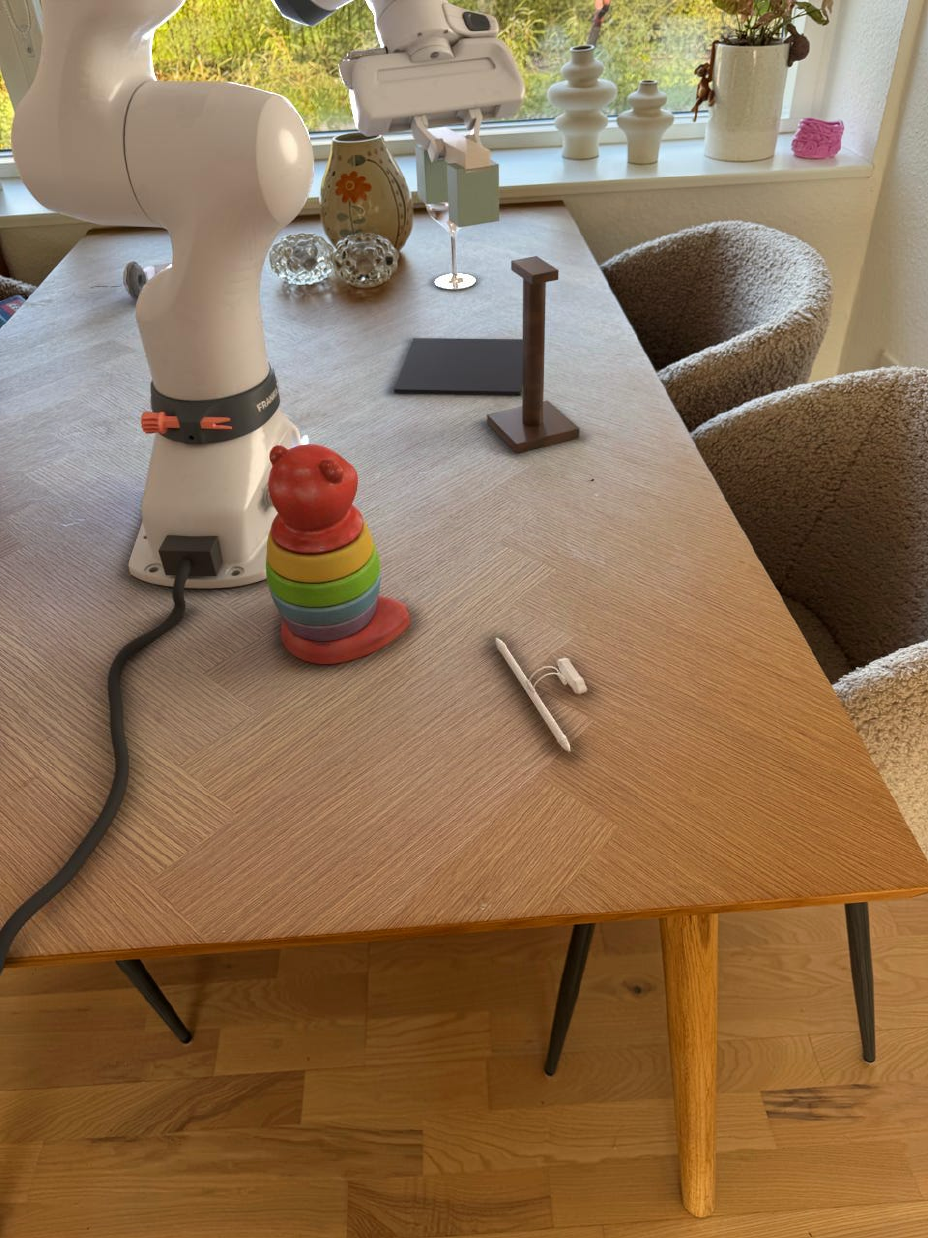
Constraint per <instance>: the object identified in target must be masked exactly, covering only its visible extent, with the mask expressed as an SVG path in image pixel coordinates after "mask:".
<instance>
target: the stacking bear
mask: <svg viewBox="0 0 928 1238" xmlns="http://www.w3.org/2000/svg"><path fill="white" fill-rule="evenodd" d="M269 458H270V462H271V463H272V468H271V470H270V474H269V479H268V490H269V495H270V498H271V501H272V503H273V505H274V507H275V509H276V511H277V512H278V514H277V515H276V517H275V518H274V520H273V522H272V525H271V530H270V532H269V535H268V541H267V557H266V577H267V578H266V582H267V586H268V591H269V593H270V597H271V599H272V601H273V604H274V605H275V607H276V609H277V612H278V614H279V615H280V616H279V617H281V619H282V621H281V629H280V630H281V631H280V634H281V640H282V643H283V645H284V647H285V649H287V651H288V652H289V653H290V654H291V655H293V656H294V657H296V658H298V659H300V660H301V661H305V662H308V663H312V664H319V665H334V664H340V663H345V662H349V661H353V660H357V659H359V658H361V657H365V656H367V655H369V654H372V653H374V652H376V651H378V650H380V649H382V648H384V647H385V646H387V645H389V644H390V643H392V642H393V641H394V640H396V639H397V638H398V637H399V636H400V635H401V634H402V633H404V631H406V630H407V628H408V627H409V625H410V624H411V617H410V612H409V609H408V606H407V605H406V604H405V603H404V602H401V601H399V600H397V599H396V598H393V597H388V596H382V595H379V593H380V591H381V590H380V589H381V578H382V577H381V574H382V572H381V571H382V570H381V562H380V556H379V552H378V549H377V547H376V544H375V542H374V539H373V536H372V533H371V531H370V529H369V527H368V523H367V522H366V520H365V519H364V516H363V514H362V513H361V511H360V510H359V509H358V508H357V507H356V506H355V505H354V504H353V503H354V500H355V498H356V495H357V491H358V485H359V484H358V483H359V476H358V471H357V470H356V468H355V467H354V465H353V464H352V463H351V462H348V461H347V460H346V459H345V458H344V457H343V456H341V455H340V454H339V453H338V452H336V451H335V450H333V449H331V448H329V447H327V446H324V445H321V444H314V443H308V444H304V445H299V446H295V447H293V448H291V449H289V450H288V449H286V448H285V447H284V446H281V445H277V446H274V447H273V448H272V449H271V451H270V454H269Z"/></svg>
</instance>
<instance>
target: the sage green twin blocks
mask: <svg viewBox="0 0 928 1238" xmlns="http://www.w3.org/2000/svg"><path fill="white" fill-rule="evenodd" d="M427 130H428V131H429V132H430V133H431V134H432V135H433V136H434V137H435V138H436V139H443V141H444V147H445V148H446V157H445V159H444V161H438V162H431V160H430V157H429V154H428V151H427V150H426V149H425V148H424V147H423V146H421V145H420V144H419V143H418V144H415V145H414V151H415V152H414V154H415V166H416V167H415V169H416V170H415V171H416V187H417V199H418V200H420V202H422V203H424V205H425V204H427V205H428V204H435V203H441V202H447V201H448V208H449V221H451V222H452V223H453V224H455V225H456V226H458V227H461V228H466V227H470V226H477V225H483V224H490V223H495V222H499V221H500V163H497V162H496V161H494V160H492V159H491V149H489V148H487V147H485V146H483V145H482V146H481V145H479V144H477V143H475V142H473V141H471V140H469V139H467V138H466V136H464V135H461V134H459V133H458V132H456V131H454V130H452V129H450V128H449V127H447V126H443V127H435V128H428V129H427Z"/></svg>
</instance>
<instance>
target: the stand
mask: <svg viewBox="0 0 928 1238" xmlns="http://www.w3.org/2000/svg"><path fill="white" fill-rule="evenodd" d="M510 270H511V271H512V272H513V273H515V274H516V275H518V276H519V277H521V278H522V339H523V369H522V389H521V396H522V397H521V398H522V399H521V400H522V403H521V406H517V407H513V408H509V409H505V410H500V411H497V412H492V413H488V414H487V415H486V423H487V425H488V426H489V427H490V428H491V429H492V430H493V431H494V432H495V433H496V434H497V435H498V436H499V437H500V438H501V439H502V440H503V441H504V442H505V443H506V444H507V446H509V448H510V449H511V450H513V451H514V453H516V454H520V453H524V452H526V451H527V452H528V451H532V450H536V449H541V448H544V447H547V446H552V445H556V444H559V443H563V442H567V441H572V440H575V439H579V438H580V431H581V430H580V426H577V424H575V423H574V422H573V421H572V420H571V419H569V418H568V417H567V416H566V415H565V414H564V413H562V411H561V410H559V409H558V408H557V407H556V406H555V405H554V404H552V403H551V402H550V401H549V400H548V399H547V400H544V397H545V396H544V392H545V386H544V385H545V345H546V344H545V343H546V296H547V294H546V292H547V283H549V282H554V281H559V269H558V268H556V267H554V266H553V265H551V264H550V263H548V262H547V261H545V260H543V259H542V258H541V257H539V256H537V255H535V256H530V257H524V258H519V259H512V260H510Z"/></svg>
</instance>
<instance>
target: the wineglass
mask: <svg viewBox="0 0 928 1238" xmlns="http://www.w3.org/2000/svg"><path fill="white" fill-rule="evenodd" d="M424 206H425V209H426V211H427V213H428V214H429V216H430V217H431V218H432V219H433V220H434V221H435V222H437V224H439V225H440V226H441V227H442V228H443V229H445V231H446V232H448V234H449V236H450V249H451V250H450V251H451V273H449V274H445V275H442V276H439V277H438V278H436V279H435V280H434V284H435V286H436V287H437V288H439V289H442V290H452V291H455V290H463V289H467V288H470V287H472V286H474V285H475V283H476V278H475V277H474V276H472V275H469V274H464V273H459V270H458V256H457V255H458V254H457V236H458V234H459V231H460V230H461V229H462V227H458V226H456V225H455V224H453V223H452V222H451V221H449V208H448V201H447V202H441V203H435V204H428V205H427V204H425V203H424Z"/></svg>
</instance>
